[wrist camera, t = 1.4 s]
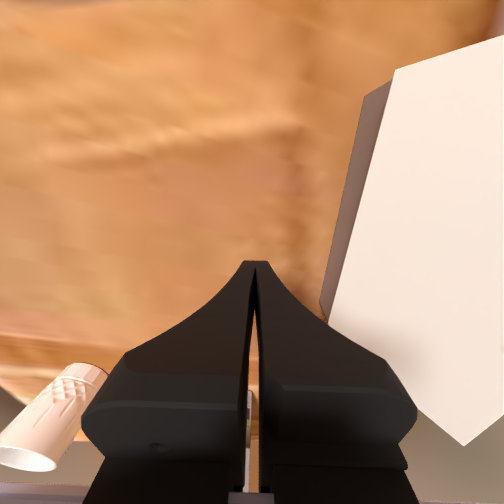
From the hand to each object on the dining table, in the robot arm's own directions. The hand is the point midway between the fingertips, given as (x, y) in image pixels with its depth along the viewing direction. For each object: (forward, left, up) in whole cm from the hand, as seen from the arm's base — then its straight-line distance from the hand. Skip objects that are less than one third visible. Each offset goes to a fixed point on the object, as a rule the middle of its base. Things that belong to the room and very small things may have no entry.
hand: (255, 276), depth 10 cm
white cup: (-27, +28, -10) cm, 40 cm away
